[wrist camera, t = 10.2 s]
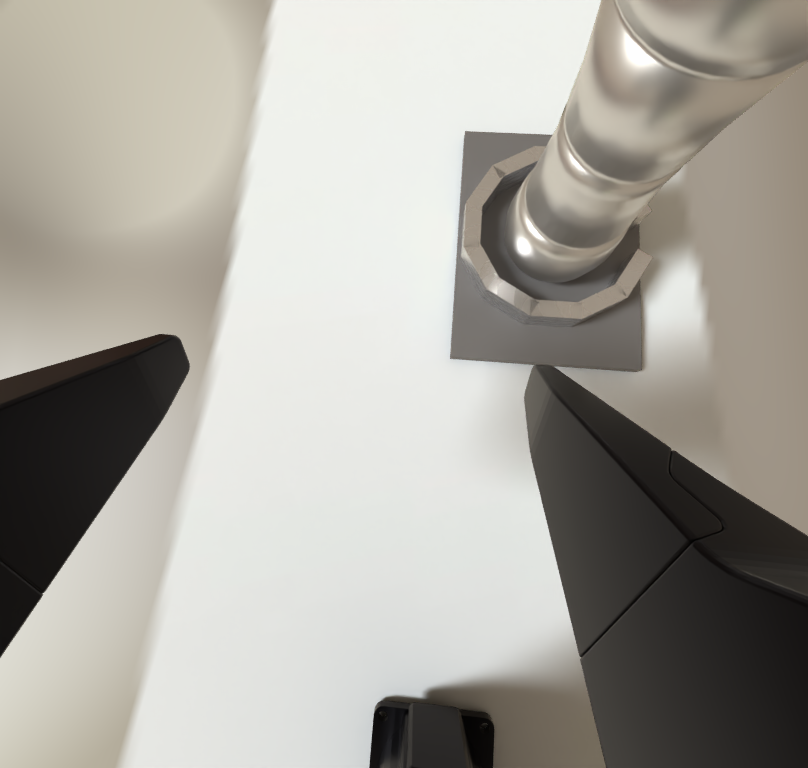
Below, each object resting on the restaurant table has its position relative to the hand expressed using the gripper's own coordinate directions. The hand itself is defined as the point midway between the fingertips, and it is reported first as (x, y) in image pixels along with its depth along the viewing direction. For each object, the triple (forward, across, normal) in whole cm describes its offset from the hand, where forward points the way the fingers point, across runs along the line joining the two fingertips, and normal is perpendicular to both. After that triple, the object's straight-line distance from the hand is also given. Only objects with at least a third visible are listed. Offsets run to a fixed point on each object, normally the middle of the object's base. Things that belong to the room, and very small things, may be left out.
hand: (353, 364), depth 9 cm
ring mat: (+18, -9, +1) cm, 20 cm away
